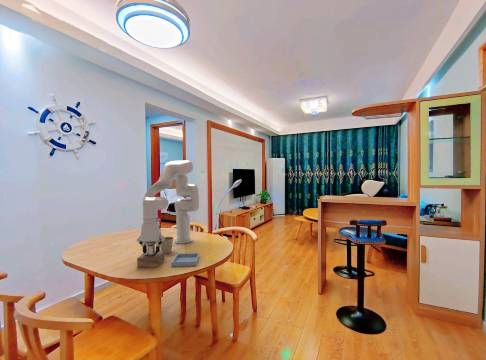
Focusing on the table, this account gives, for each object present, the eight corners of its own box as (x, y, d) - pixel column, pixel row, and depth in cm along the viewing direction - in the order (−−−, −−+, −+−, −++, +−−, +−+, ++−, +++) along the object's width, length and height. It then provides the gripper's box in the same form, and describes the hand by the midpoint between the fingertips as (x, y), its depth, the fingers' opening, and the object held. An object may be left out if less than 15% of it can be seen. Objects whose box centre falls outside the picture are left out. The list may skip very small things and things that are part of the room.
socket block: (145, 259, 132) (145, 251, 132) (164, 259, 133) (164, 250, 133) (137, 267, 121) (137, 258, 121) (158, 267, 122) (158, 257, 122)
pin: (148, 261, 130) (148, 240, 129) (157, 261, 130) (157, 240, 130) (145, 265, 125) (144, 243, 124) (154, 265, 125) (154, 243, 125)
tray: (177, 257, 135) (177, 253, 135) (199, 257, 136) (199, 253, 136) (171, 266, 122) (171, 262, 122) (196, 265, 123) (195, 261, 123)
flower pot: (157, 255, 139) (157, 241, 139) (159, 250, 149) (158, 237, 148) (173, 253, 142) (173, 240, 142) (174, 249, 151) (173, 236, 151)
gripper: (168, 219, 131) (168, 250, 131) (137, 219, 130) (138, 251, 130) (164, 221, 123) (165, 254, 124) (131, 222, 122) (132, 255, 123)
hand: (151, 252), depth 127 cm, fingers open, 6 cm apart
